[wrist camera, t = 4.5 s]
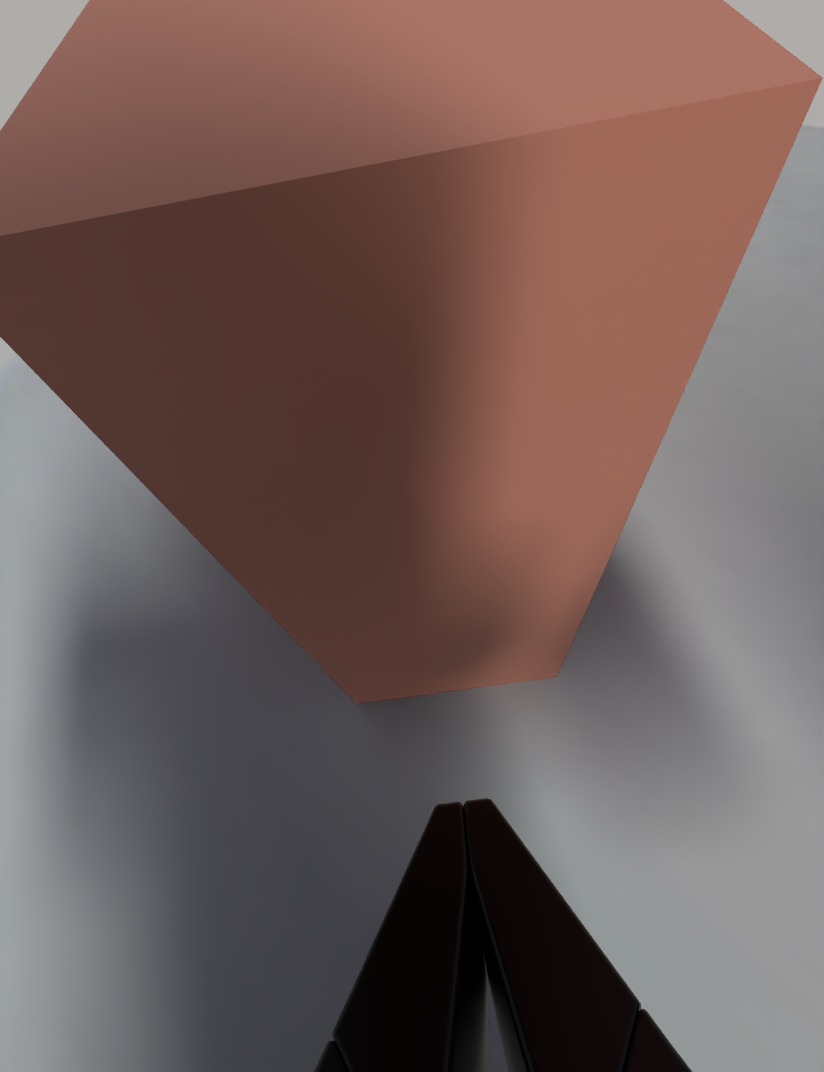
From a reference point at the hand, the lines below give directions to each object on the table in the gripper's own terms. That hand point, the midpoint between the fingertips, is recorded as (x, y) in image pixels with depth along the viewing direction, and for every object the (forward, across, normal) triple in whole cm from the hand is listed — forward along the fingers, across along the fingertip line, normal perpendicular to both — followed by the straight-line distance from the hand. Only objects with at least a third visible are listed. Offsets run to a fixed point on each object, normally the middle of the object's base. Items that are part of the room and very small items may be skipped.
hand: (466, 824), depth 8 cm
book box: (+12, 0, -3) cm, 13 cm away
